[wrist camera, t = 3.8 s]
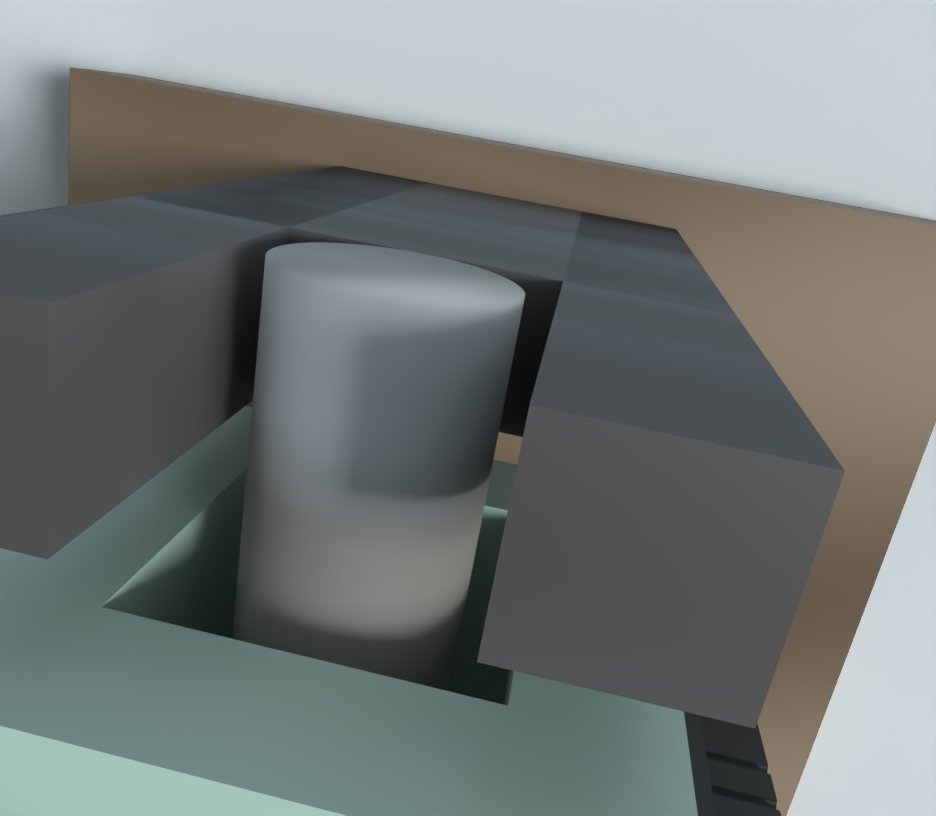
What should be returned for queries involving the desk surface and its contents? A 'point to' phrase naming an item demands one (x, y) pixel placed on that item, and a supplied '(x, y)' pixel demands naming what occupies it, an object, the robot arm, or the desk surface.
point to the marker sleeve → (282, 689)
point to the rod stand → (478, 393)
